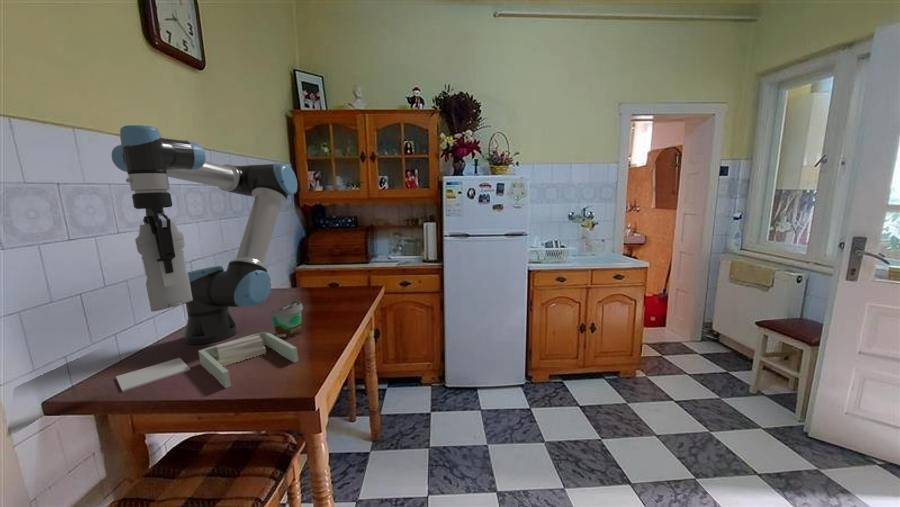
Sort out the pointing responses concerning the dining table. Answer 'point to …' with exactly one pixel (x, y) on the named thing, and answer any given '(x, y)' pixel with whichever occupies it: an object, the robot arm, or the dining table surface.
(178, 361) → the mat
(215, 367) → the rack
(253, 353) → the offcut lower
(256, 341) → the offcut upper
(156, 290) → the tall pale column
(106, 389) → the dining table surface
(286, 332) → the food container
